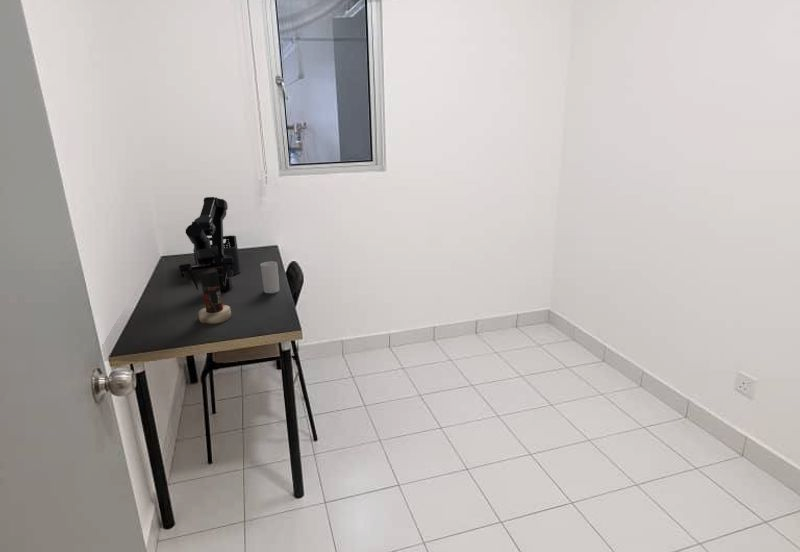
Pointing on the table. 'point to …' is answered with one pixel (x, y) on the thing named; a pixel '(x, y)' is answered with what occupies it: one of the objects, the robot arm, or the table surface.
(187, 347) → the table surface
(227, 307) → the beige round flatbread
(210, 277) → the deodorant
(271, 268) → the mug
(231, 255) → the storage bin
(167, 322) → the table surface
